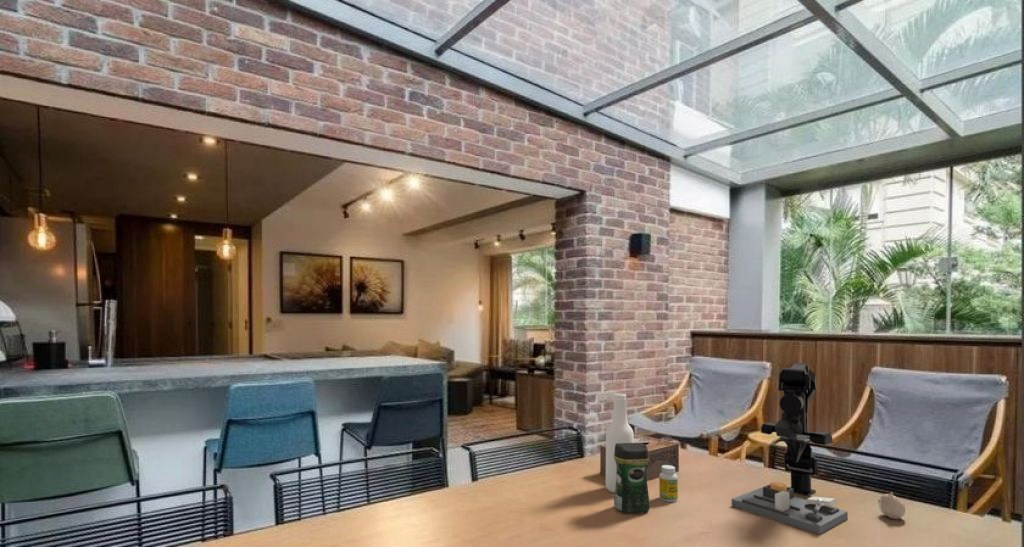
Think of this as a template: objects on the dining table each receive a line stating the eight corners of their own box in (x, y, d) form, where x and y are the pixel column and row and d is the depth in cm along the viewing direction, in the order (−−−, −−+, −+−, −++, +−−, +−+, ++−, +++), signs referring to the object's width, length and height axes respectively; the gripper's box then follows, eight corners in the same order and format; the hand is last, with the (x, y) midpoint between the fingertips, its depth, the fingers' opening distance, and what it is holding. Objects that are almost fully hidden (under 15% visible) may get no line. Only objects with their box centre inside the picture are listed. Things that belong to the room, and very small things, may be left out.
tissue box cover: (645, 462, 195) (645, 435, 196) (678, 472, 184) (678, 443, 185) (600, 475, 179) (600, 445, 180) (633, 486, 168) (633, 454, 169)
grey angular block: (783, 506, 146) (783, 490, 146) (789, 508, 145) (789, 492, 145) (775, 510, 143) (774, 493, 143) (781, 512, 142) (780, 495, 142)
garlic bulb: (873, 514, 147) (872, 486, 147) (887, 511, 149) (886, 483, 150) (898, 523, 141) (897, 493, 141) (912, 520, 143) (911, 490, 144)
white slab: (813, 500, 148) (812, 496, 149) (836, 503, 144) (835, 498, 144) (807, 503, 146) (806, 499, 146) (830, 506, 141) (829, 501, 142)
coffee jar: (641, 503, 152) (641, 439, 153) (653, 514, 144) (653, 446, 145) (610, 505, 150) (610, 440, 152) (620, 515, 142) (620, 447, 144)
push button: (774, 491, 158) (774, 481, 158) (789, 495, 154) (789, 485, 154) (767, 494, 155) (767, 483, 155) (782, 498, 151) (782, 487, 152)
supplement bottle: (667, 495, 160) (667, 463, 160) (681, 500, 155) (681, 467, 156) (655, 498, 157) (655, 465, 157) (669, 503, 152) (669, 470, 153)
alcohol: (635, 487, 166) (635, 393, 168) (632, 496, 158) (632, 397, 160) (607, 483, 169) (608, 391, 171) (603, 492, 161) (604, 395, 163)
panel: (762, 493, 162) (762, 479, 163) (847, 518, 143) (847, 502, 144) (731, 505, 151) (731, 490, 152) (819, 534, 132) (819, 516, 133)
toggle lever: (812, 509, 138) (819, 496, 137) (819, 514, 137) (826, 501, 136) (809, 511, 137) (816, 498, 136) (816, 516, 136) (823, 502, 135)
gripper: (751, 407, 160) (752, 458, 158) (815, 417, 145) (817, 474, 144) (769, 404, 166) (769, 453, 165) (832, 413, 151) (834, 468, 150)
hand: (795, 462), depth 156 cm, fingers closed
